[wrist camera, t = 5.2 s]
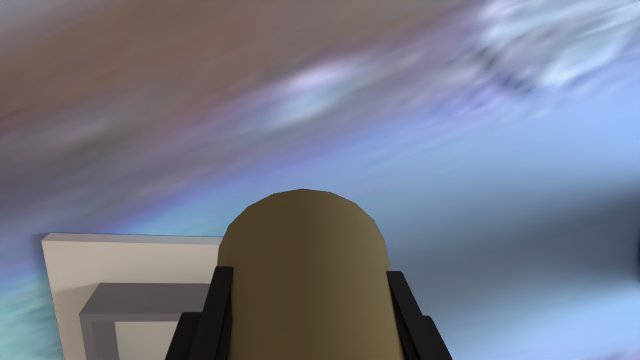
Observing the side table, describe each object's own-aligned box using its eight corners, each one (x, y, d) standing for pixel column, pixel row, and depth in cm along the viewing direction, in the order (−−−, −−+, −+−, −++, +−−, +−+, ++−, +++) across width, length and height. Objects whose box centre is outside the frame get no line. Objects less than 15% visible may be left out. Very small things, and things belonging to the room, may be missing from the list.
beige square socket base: (282, 238, 27) (283, 272, 23) (271, 393, 32) (271, 441, 29) (49, 232, 25) (10, 268, 21) (80, 399, 30) (53, 451, 26)
